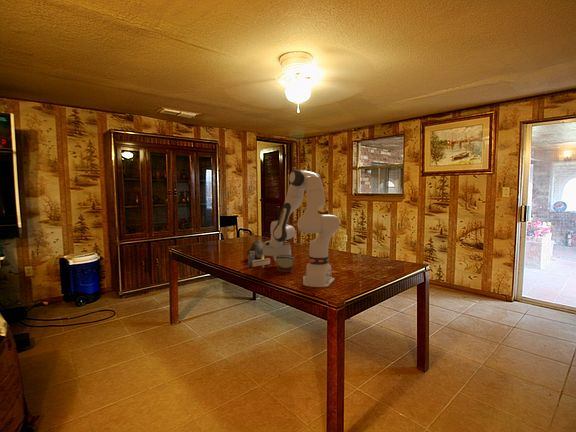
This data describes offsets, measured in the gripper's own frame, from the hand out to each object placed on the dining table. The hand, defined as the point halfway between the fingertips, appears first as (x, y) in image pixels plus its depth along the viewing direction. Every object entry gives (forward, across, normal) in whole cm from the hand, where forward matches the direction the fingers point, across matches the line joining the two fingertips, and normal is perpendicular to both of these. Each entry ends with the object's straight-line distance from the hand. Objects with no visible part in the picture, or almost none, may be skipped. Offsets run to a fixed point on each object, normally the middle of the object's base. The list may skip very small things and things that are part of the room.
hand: (276, 262), depth 218 cm
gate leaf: (+2, +11, +3) cm, 11 cm away
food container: (+3, -9, +10) cm, 14 cm away
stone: (+3, +23, -19) cm, 30 cm away
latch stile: (+3, +20, -5) cm, 21 cm away
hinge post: (+3, +17, +9) cm, 19 cm away
